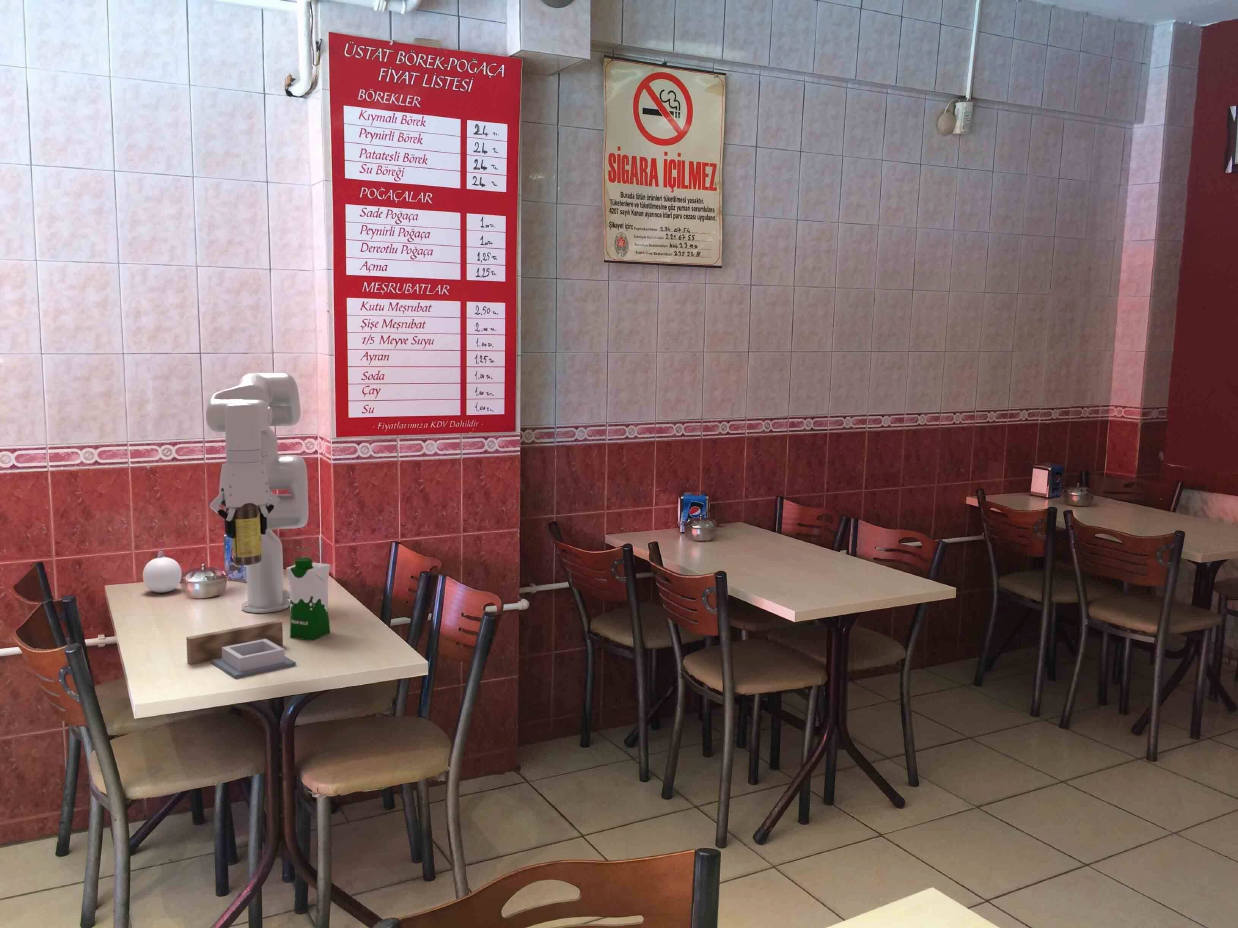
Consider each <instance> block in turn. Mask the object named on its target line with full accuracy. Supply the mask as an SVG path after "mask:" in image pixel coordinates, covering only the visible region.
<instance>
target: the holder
mask: <svg viewBox="0 0 1238 928" xmlns="http://www.w3.org/2000/svg"><path fill="white" fill-rule="evenodd" d="M285 650H286V649H285V648H284V647H282V646H278V645H276V644H274V643H272V642H271V641H269V640H267V639H262V640H257V641H252V642H247V643H242V644H237V645H231V646H226V647H222V658H217V659H212V660H210V661H211V664H212V665H214V666H215V667H217V668H218V669H219V670H221V671H223V672H224V673H225V674H227V675H228V676H230V677H232V678H233V679H236V680H237V679H242V678H245V677H251V676H254V675H259V674H264V673H268V672H272V671H278V670H282V669H287V668H292V667H295V666H297V662H296V661H295V660H293V659H291V658H289V657H287V656H286V652H285Z"/></svg>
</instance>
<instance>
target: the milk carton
mask: <svg viewBox="0 0 1238 928" xmlns="http://www.w3.org/2000/svg"><path fill="white" fill-rule="evenodd" d="M330 569H331V564H329V563H323V562H322V563H321V562H320V563H319V562H313V559H312V558H311V557H299V558H296V559H295V560H294V565H291V566H289V567H288V566H287V567H286V572H287V573H286V574H287V577H288V581H289V590H290V599H289V602H290V606H289V609H290V611H289V612H290V613H289V614H290V616H289V617H290V618H289V621H290V622H289V624H290V625H289V626H290V627H289V637H290V638H293V639H300V640H309V641H316V640H317V639H319V638H322V637H325V636H326V635H329V634H330V633H331V626H330V617H329V590H328V588H329V584H328V583H329V575H330Z"/></svg>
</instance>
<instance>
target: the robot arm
mask: <svg viewBox="0 0 1238 928" xmlns="http://www.w3.org/2000/svg"><path fill="white" fill-rule="evenodd" d="M299 394H300V393H299V389H298V385H297V381H296V379H295V378H294V377H293V375H291V374H289V373H287V372H250V373H246V374H245V375H243V376H242V377H241V378H240V379H239V380H238V383H237V385H236V386H235V387H231V388H228V389H224V390H220V391H217V392H215V393H214V394H212V396H211V397H210V398H209V401H208V402H207V406H206V411H205V420H206V423H207V426H208V428H209V429H210V431H213V432H215V433H225V435H224V437H225V462H226V463H221V464H222V465H221V471H220V477H219V491H218V492H219V493H218V495H217V496H216V497H215V498H214V499H213V500H212V501H211V502H210V503H209V507H210V508H211V510H213V511H214V512H215V513H216V514H217V515H218V516H220V517H221V518H222V519H223V520H224V533H225V535H226V537H228V538H230V539H232V538H235V521H233V515H234V513H235V510H236V508H239V507H242V506H243V505H244V504H247V503H253V504H255V505H257V506H259V510H260V530H261V547H262V554H261V562H259V563H257V564H252V565H245V566H246V569H245V570H246V593H247V595H246V596H247V597H246V598H247V599H246V600H247V601H245V602H243V603H241V610H242V611H244V612H246V613H253V614H256V613H257V614H262V613H263V614H265V613H274V612H279V611H283V610H286V609H287V608H290V589H286V588H284V565H283V564H284V561H283V559H284V558H283V543H282V541H281V540H280V538H279V537H278V536H277V534H276V533H274V531H273V530H278V529H279V530H282V529H283V530H284V529H285V530H287V529H298V528H299V529H300V528H303V527H305V526H306V525H307V523H308V520H309V491H308V490H309V489H308V486H309V484H308V469H307V463H306V461H305V459H304V458H303V457H302V456H299V455H295V454H279V450H278V436H277V434H276V432H274V430H273V428H271V427H292V426H295V425H296V424H298V423H299V421H300V418H301V411H302V410H301V401H300V395H299ZM280 490H281V491H282V490H283V491H285V490H287V491H288V492H290V493H286V494H283V493H282V494H278V493H277V494H275V493H274V492H273V491H280ZM221 507H225V508H224V509H223V508H221Z"/></svg>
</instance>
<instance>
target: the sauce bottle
mask: <svg viewBox="0 0 1238 928" xmlns="http://www.w3.org/2000/svg"><path fill="white" fill-rule="evenodd" d="M233 521H235V538H231V546H232V547H231V549H232V556H233V564H234V565H236V566H241V567H242V566H246V565H252V564H257V563H259V562H261V554H262V547H261V530H260V510H259V506H257V505H255V504H253V503H247V504H244V505H243V506H242V507H239V508H236V510H235V513H234V515H233Z"/></svg>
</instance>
